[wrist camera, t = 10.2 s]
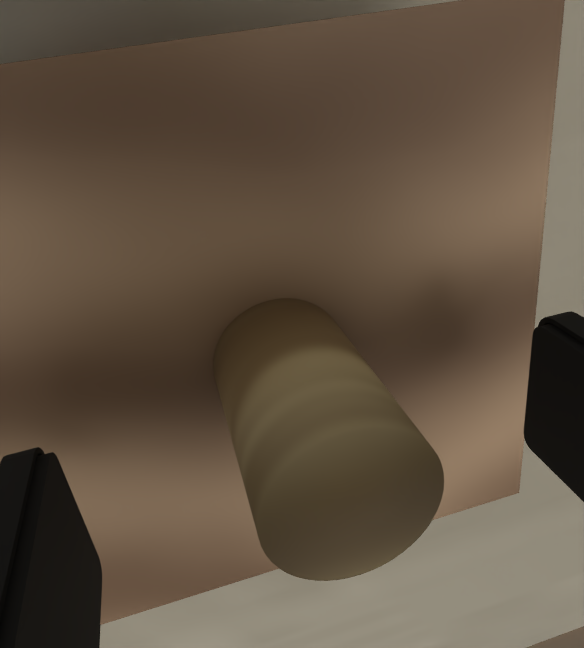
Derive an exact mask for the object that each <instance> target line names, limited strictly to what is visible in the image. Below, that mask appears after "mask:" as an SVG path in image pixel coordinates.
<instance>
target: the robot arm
mask: <svg viewBox="0 0 584 648" xmlns="http://www.w3.org/2000/svg"><path fill="white" fill-rule="evenodd" d="M524 438H525V441H526V443H527V445H528V447H529V448H530V449H531V450H532V451H533V452H534V453H535V454H536V455H537V456H538V457H539V458H540V459H541V460H542V461H543V462H544V463H545V464H546V465H547V466H548V467H549V468H550V469H551V470H552V471H553V472H554V473H555V474H556V475H557V476H558V477H559V478H560V479H561V480H562V481H563V482H564V483H565V484H566V485H567V486H568V487H569V488H570V489H571V490H572V491H573V492H574V493H575V494H576V495H577V496H578V497H579V498H580V499H581V500H582V501H583V502H584V317H582V316H580V315H578V314H577V313H574V312H565V313H561V314H557V315H553V316H549V317H545V318H543V319H542V320H541V321H540V322H539V325H538V327H537V328H535V329H534V331H533V335H532V346H531V357H530V367H529V378H528V389H527V400H526V410H525V421H524ZM101 598H102V568H101V562H100V559H99V556H98V553H97V551H96V549H95V546H94V544H93V541H92V539H91V537H90V534H89V532H88V529H87V527H86V525H85V522H84V520H83V517H82V515H81V513H80V510H79V508H78V505H77V503H76V501H75V498H74V496H73V493H72V491H71V489H70V486H69V484H68V481H67V479H66V477H65V474H64V472H63V470H62V467H61V465H60V462H59V460H58V458H57V456H56V454H55V453H54V452H51V453H47V454H45V453H44V451H43V450H42V449H41V448H39V447H36V448H32V449H29V450H25V451H21V452H17V453H13V454H9V455H5V456H4V457H3V458H2V460H1V462H0V648H99V643H100V621H101ZM527 648H584V627H581V628H578V629H575V630H573V631H570V632H567V633H565V634H562V635H559V636H557V637H554V638H551V639H548V640H546V641H543V642H540V643H538V644H535V645H532V646H529V647H527Z"/></svg>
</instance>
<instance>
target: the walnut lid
mask: <svg viewBox="0 0 584 648" xmlns="http://www.w3.org/2000/svg"><path fill="white" fill-rule="evenodd" d="M564 1H565V0H461V1H453V2H446V3H439V4H432V5H424V6H417V7H410V8H403V9H395V10H388V11H381V12H374V13H367V14H359V15H352V16H345V17H338V18H330V19H323V20H316V21H309V22H301V23H294V24H287V25H280V26H272V27H265V28H258V29H251V30H243V31H236V32H229V33H222V34H215V35H207V36H200V37H193V38H186V39H178V40H171V41H164V42H157V43H149V44H142V45H135V46H128V47H120V48H113V49H106V50H99V51H91V52H84V53H77V54H70V55H62V56H55V57H48V58H41V59H34V60H26V61H19V62H12V63H5V64H0V462H1V460H2V458H3V457H4V456H5V455H9V454H13V453H17V452H21V451H25V450H29V449H32V448H36V447H39V448H41V449H42V450H43V451H44V453H45V454H47V453H51V452H54V453H55V454H56V456H57V458H58V460H59V462H60V465H61V467H62V470H63V472H64V474H65V477H66V479H67V481H68V484H69V486H70V489H71V491H72V493H73V496H74V498H75V501H76V503H77V505H78V508H79V510H80V513H81V515H82V517H83V520H84V522H85V525H86V527H87V529H88V532H89V534H90V537H91V539H92V541H93V544H94V546H95V549H96V551H97V553H98V556H99V559H100V562H101V568H102V598H101V621H100V625H101V624H105V623H108V622H111V621H114V620H117V619H121V618H124V617H127V616H130V615H133V614H136V613H140V612H143V611H146V610H149V609H152V608H155V607H159V606H162V605H165V604H168V603H171V602H174V601H178V600H181V599H184V598H187V597H190V596H193V595H197V594H200V593H203V592H206V591H209V590H212V589H216V588H219V587H222V586H225V585H228V584H231V583H235V582H238V581H241V580H244V579H247V578H250V577H254V576H257V575H260V574H263V573H266V572H269V571H273V570H276V569H281V570H283V571H284V572H286V573H288V574H291V575H293V576H296V577H299V578H303V579H308V580H317V581H329V580H339V579H345V578H350V577H354V576H357V575H361V574H363V573H366V572H369V571H371V570H374V569H376V568H378V567H380V566H382V565H384V564H386V563H387V562H389V561H391V560H392V559H394V558H395V557H397V556H398V555H400V554H401V553H402V552H404V551H405V550H406V549H407V548H408V547H410V546H411V545H412V544H413V543H414V542H415V541H416V540H417V539H418V538H419V537H420V536H421V535H422V533H423V532H424V531H425V530H426V528H427V527H428V526H429V524H430V523H431V521H432V520H434V519H437V518H440V517H444V516H447V515H450V514H453V513H456V512H459V511H463V510H466V509H469V508H472V507H475V506H478V505H482V504H485V503H488V502H491V501H494V500H497V499H501V498H504V497H507V496H510V495H513V494H516V493H519V488H520V477H521V466H522V455H523V444H524V421H525V410H526V400H527V389H528V378H529V367H530V357H531V346H532V335H533V331H534V325H535V315H536V304H537V293H538V282H539V271H540V261H541V250H542V239H543V228H544V217H545V207H546V196H547V185H548V174H549V163H550V153H551V142H552V131H553V120H554V109H555V99H556V88H557V77H558V66H559V55H560V45H561V34H562V23H563V12H564Z"/></svg>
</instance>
